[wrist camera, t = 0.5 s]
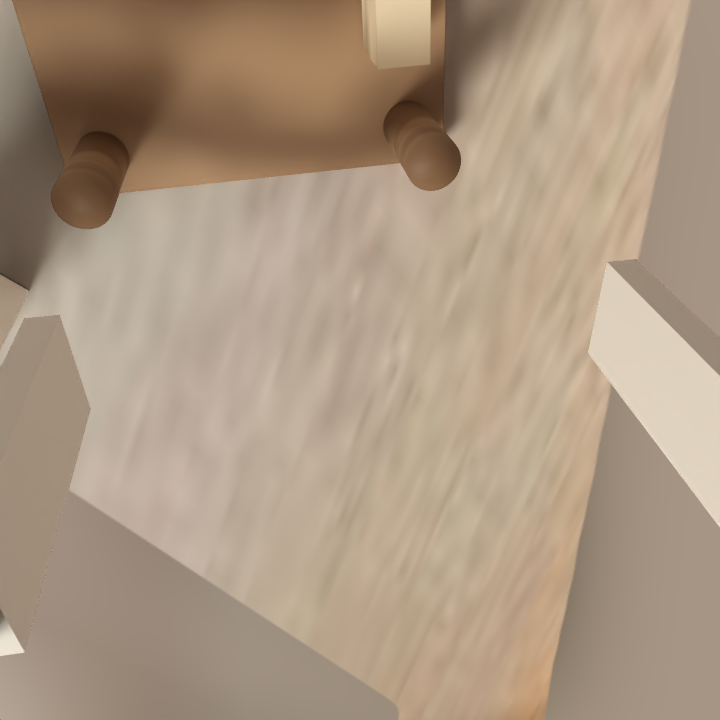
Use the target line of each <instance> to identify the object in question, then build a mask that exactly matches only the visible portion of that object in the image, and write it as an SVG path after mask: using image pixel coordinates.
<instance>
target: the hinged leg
mask: <svg viewBox="0 0 720 720" xmlns="http://www.w3.org/2000/svg"><path fill="white" fill-rule="evenodd" d="M362 20H363V42H364V51H365V53H366V54H367V55H368V57H369V58H370V59H371V61H372V62H373V63H374V65H375V66H376V67H377V69H386V68H396V67H407V66H418V65H429V64H430V28H431V0H362Z"/></svg>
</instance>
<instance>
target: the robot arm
mask: <svg viewBox="0 0 720 720" xmlns="http://www.w3.org/2000/svg"><path fill="white" fill-rule="evenodd" d="M588 354H589V355H590V356H591V358H592V359H593V360H594V362H595V363H596V364H597V366H598V367H599V368H600V370H601V371H602V372H603V373H604V375H605V376H606V377H607V379H608V380H609V381H610V383H611V384H612V385H613V387H614V388H615V389H616V391H617V392H618V393H619V395H620V396H621V397H622V399H623V400H624V401H625V403H626V404H627V405H628V407H629V408H630V409H631V410H632V412H633V413H634V414H635V416H636V417H637V418H638V420H639V421H640V422H641V424H642V425H643V426H644V428H645V429H646V430H647V431H648V433H649V434H650V436H651V437H652V438H653V440H654V441H655V442H656V444H657V445H658V446H659V447H660V449H661V450H662V451H663V453H664V454H665V455H666V457H667V458H668V459H669V461H670V462H671V463H672V465H673V466H674V467H675V469H676V470H677V471H678V473H679V474H680V475H681V477H682V478H683V479H684V480H685V482H686V483H687V485H688V486H689V487H690V488H691V490H692V491H693V492H694V494H695V495H696V496H697V498H698V499H699V500H700V502H701V503H702V504H703V506H704V507H705V508H706V510H707V511H708V512H709V514H710V515H711V516H712V518H713V519H714V520H715V522H716V523H717V524H718V526H719V527H720V337H719V336H718V335H717V334H716V333H715V332H714V331H712V329H710V328H709V327H708V326H707V325H706V324H705V323H704V322H703V321H702V320H701V319H700V318H699V317H698V316H696V315H695V314H694V313H693V312H692V311H691V310H690V309H689V308H688V307H687V306H686V305H685V304H684V303H683V302H681V301H680V300H679V299H678V298H677V297H676V296H675V295H674V294H673V293H672V292H671V291H670V290H668V289H667V288H666V287H665V286H664V285H663V284H662V283H661V282H660V281H659V280H658V279H657V278H656V277H655V276H654V275H653V274H651V273H650V272H649V271H648V270H647V269H646V268H645V267H644V266H643V265H642V264H641V263H640V262H639V261H638V260H636V259H634V260H623V261H613V262H607V265H606V270H605V275H604V280H603V284H602V289H601V294H600V299H599V303H598V308H597V313H596V318H595V322H594V327H593V332H592V337H591V341H590V346H589V351H588ZM89 412H90V406H89V403H88V400H87V397H86V394H85V391H84V388H83V385H82V382H81V378H80V375H79V372H78V369H77V366H76V363H75V360H74V357H73V354H72V351H71V348H70V345H69V342H68V339H67V336H66V333H65V330H64V327H63V324H62V321H61V318H60V315H54V316H44V317H33V318H24V320H23V322H22V324H21V326H20V328H19V331H18V333H17V335H16V337H15V339H14V341H13V343H12V345H11V347H10V349H9V351H8V354H7V356H6V358H5V360H4V362H3V364H2V366H1V368H0V656H3V655H9V654H17V653H23V652H25V649H26V646H27V642H28V638H29V634H30V631H31V627H32V623H33V620H34V616H35V612H36V609H37V605H38V601H39V597H40V594H41V590H42V586H43V583H44V579H45V575H46V571H47V568H48V564H49V560H50V557H51V553H52V549H53V546H54V542H55V538H56V534H57V531H58V527H59V523H60V520H61V516H62V512H63V509H64V505H65V501H66V498H67V494H68V490H69V486H70V483H71V479H72V475H73V472H74V468H75V464H76V461H77V457H78V453H79V449H80V446H81V442H82V438H83V435H84V431H85V427H86V424H87V420H88V416H89Z"/></svg>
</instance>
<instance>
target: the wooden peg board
mask: <svg viewBox="0 0 720 720" xmlns="http://www.w3.org/2000/svg"><path fill="white" fill-rule="evenodd" d="M12 1H13V4H14V8H15V11H16V14H17V17H18V20H19V23H20V26H21V30H22V33H23V36H24V39H25V42H26V45H27V48H28V52H29V55H30V58H31V61H32V64H33V67H34V71H35V74H36V77H37V80H38V83H39V86H40V89H41V93H42V96H43V99H44V102H45V105H46V108H47V111H48V115H49V118H50V121H51V124H52V127H53V130H54V133H55V137H56V140H57V143H58V146H59V149H60V152H61V155H62V159H63V162H64V165H65V167H64V169H63V171H62V172H61V174H60V176H59V178H58V179H57V181H56V183H55V185H54V186H53V189H52V192H51V202H52V205H53V208H54V210H55V212H56V213H57V214H58V216H59V217H60V218H61V219H62V220H64V221H65V222H66V223H68V224H70V225H71V226H74V227H77V228H81V229H93V228H97V227H100V226H102V225H103V224H105V223H106V222H107V221H108V220H109V218H110V217H111V215H112V212H113V209H114V207H115V204H116V201H117V198H118V195H119V193H124V192H134V191H143V190H152V189H162V188H171V187H180V186H190V185H199V184H208V183H218V182H227V181H237V180H246V179H255V178H265V177H274V176H283V175H293V174H302V173H311V172H321V171H330V170H339V169H349V168H358V167H367V166H377V165H386V164H395V163H401V165H402V167H403V168H404V170H405V172H406V174H407V175H408V177H409V179H410V180H411V182H412V183H413V184H414V185H415V186H417V187H418V188H420V189H422V190H426V191H435V190H439V189H442V188H444V187H446V186H447V185H448V184H450V183H451V182H452V181H453V180H454V179H455V177H456V176H457V174H458V172H459V169H460V165H461V156H460V152H459V149H458V147H457V146H456V145H455V143H454V142H453V141H452V140H451V139H450V137H449V136H448V135H447V134H446V133H445V131H444V130H443V107H444V57H445V7H446V0H431V28H430V64H429V65H418V66H407V67H396V68H386V69H377V67H376V66H375V65H374V63H373V62H372V61H371V59H370V58H369V57H368V55H367V54H366V53H365V51H364V42H363V20H362V0H12Z"/></svg>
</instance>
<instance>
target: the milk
mask: <svg viewBox="0 0 720 720" xmlns="http://www.w3.org/2000/svg"><path fill="white" fill-rule="evenodd" d="M27 294H28V290H27V289H25V288H23V287H21V286H20V285H18V284H16V283H14V282H13V281H11V280H9V279H7V278H6V277H4V276H2V275H0V350H1V348H2V346H3V344H4V342H5V340H6V338H7V336H8V334H9V332H10V330H11V328H12V326H13V323H14V321H15V319H16V317H17V315H18V313H19V311H20V309H21V307H22V305H23V303H24V301H25V299H26V297H27Z"/></svg>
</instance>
